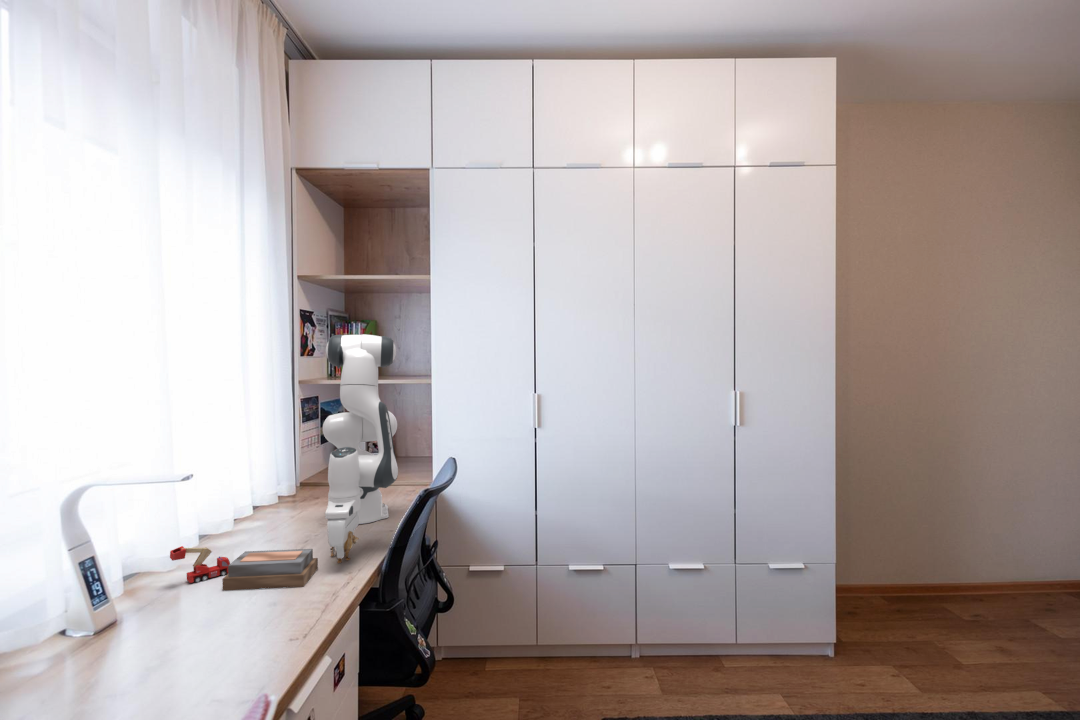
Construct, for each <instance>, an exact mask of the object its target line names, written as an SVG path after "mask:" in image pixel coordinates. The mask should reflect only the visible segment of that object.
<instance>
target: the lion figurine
mask: <svg viewBox="0 0 1080 720" xmlns="http://www.w3.org/2000/svg"><path fill="white" fill-rule="evenodd" d="M358 541H359V537H357V536H355V534H352V532H351V531H349V533H348V538H347V541H346V542H345V543H344V550H345V555H344V560H345V561H351V557H349V553H350V551H351V549H352V548H353V545H357V543H358ZM329 549H330V551H331V554H330V557H331V558H334V557H335V551H336V548H335V547H331V548H329ZM342 560H343V558H337V561H336V563H337V564H341V563H342V562H343V561H342Z"/></svg>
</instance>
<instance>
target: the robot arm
mask: <svg viewBox="0 0 1080 720" xmlns="http://www.w3.org/2000/svg"><path fill="white" fill-rule="evenodd" d="M325 354H326V355H325V356H326V358H327V362H329V363H330V364H331V365H332V366H334V367H337V369H341V367H342V370H341V374H340V384H339V385H340V386H339V399H340V403H341V405H342V406H343V408H344V409H346V411H345V412H339V413H335V414H330V415H328V416H327V417H326V419H325V420H324V421H323V424H322V434H323V437H325V440H327V441H328V443H330V444H332V445H333V446H334V447H336V449H334V450H333V451H331V452H330V454H329V459H328V465H327V466H328V467H327V469H328V470H327V483H328V485H329V491H328V493H327V497H328V498H327V506H326V510H325V513H324V517H325V520H327V522H326V523H327V524H326V529H327V539H328V540H327V541H328V545H329V547H331V548H332V547H335V551H336V558H337V559H338V558H341V559H343V558H345V550H344V543H345V542H346V541H347V538H348V533H349V531H351V532H352V534H353V535H355V530H356V529H357V527H358V526H359V525H361V524H363V525H364V524H369V523H374V522H377V521H379V520H384V519H389V518H390V517H389V506H388V504H385V503H383V495H382V492H381V490H380V489H381V488H382V489H387V488H389V487H390V486H391V485H393V484H395V482H396V481H397V479H398V474H399V468H398V461H397V457H396V454H395V453H396V452H395V447H394V440H393V439H394V438H393V437H394V435H395V434H396V432H397V429H398V421H397V418H396V416H395V415H394V414H393V412H391V411H389V410H388V407H387V405H386V403H385V402H383V401H381V398H380V396H379V367H380V368H385V367H390V366H391V365H392V364H393V363H394V360H395V358H396V357H397V356H396V355H397V347H396V344H395V341H394V340H393V338H391V337H389V336H386V335H382V336H381V335H380V336H379V335H375V334H365V333H363V334H344V335H343V334H334V335H332V336H331V337H329V339H328V342H327V344H326V347H325ZM365 442H377V443H376V444H377V448H378V449H377V450H378V453H377V454H373V453H371V452H369V451H367V450H365V449H362V448H361V447H360V443H365Z"/></svg>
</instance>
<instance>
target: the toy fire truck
mask: <svg viewBox="0 0 1080 720" xmlns="http://www.w3.org/2000/svg"><path fill="white" fill-rule="evenodd" d="M212 552H213V551H212V550H211V549H210V548H208V547H185V546H183V545H182V546H179V547H176V548H174V549H171V550H170V551H169V558H170V560H171V561H179V560H184V559H185V558H186V554H187V553H188V554H189V553H192V554H193V553H195V554H197V553H198V554H199V555H198V556H197V558H196V560H195V562H194V563H193V564H192V566H193V570H192V571H189V572H186V581H187V582H188V583H189V584H191V583H197V584H198V583H200V582H201V580H202V581H207V580H208V579H211V578H215V577H218V576H220V575H221V576H222V577H223V575H224V576H226V575H227V574H228V565H229V564H231V561H230V559H229V558H228V557H226V556H218V557H217V558H216V565H213V566H208V565H207V563H204V562H205V561H206V559H207V558H208V557H209V556H210V554H211V553H212Z"/></svg>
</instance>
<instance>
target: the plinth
mask: <svg viewBox="0 0 1080 720" xmlns="http://www.w3.org/2000/svg"><path fill="white" fill-rule="evenodd" d="M313 551H314V549H313V548H299V549H297V548H296V549H276V550H275V549H273V550H270V549H269V550H250V551H249V550H248V551H247V550H246V551H244V552H243V553H241V554H240V555H239V556H237V557H236V558H235V559H234V560H232V561H231V562H230V564H229V565H228V573H227V574H226V575H224V577H223V578H222V581H221V582H222V591H240V590H244V591H245V590H260V589H259V588H265V589H281V588H283V587H286V588H302V587H304V588H305V586H306V585H307V583H308V582H309V580H310V579H311V578H312V576H313V575H314V574H315V573H316V571H317V570H318V569H319V565H318V563H319V562H318V559H319V558H318V557H314V552H313ZM283 589H284V588H283Z"/></svg>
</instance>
